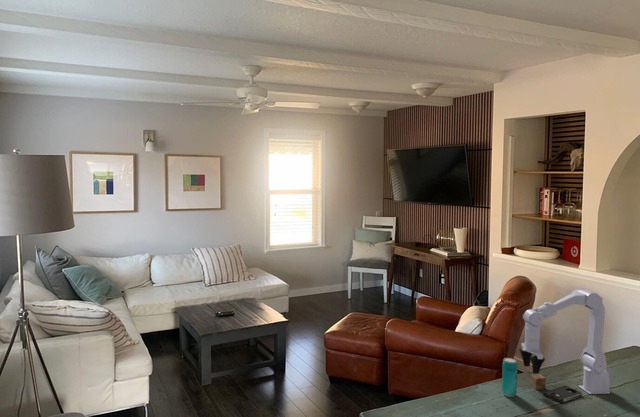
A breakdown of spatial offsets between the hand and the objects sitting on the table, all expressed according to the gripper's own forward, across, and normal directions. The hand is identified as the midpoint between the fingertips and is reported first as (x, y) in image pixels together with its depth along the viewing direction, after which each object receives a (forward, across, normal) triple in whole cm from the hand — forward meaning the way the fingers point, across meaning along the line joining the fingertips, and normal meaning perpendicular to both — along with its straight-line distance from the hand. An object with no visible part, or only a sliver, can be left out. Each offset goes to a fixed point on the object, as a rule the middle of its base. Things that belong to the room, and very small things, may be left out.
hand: (531, 369), depth 211 cm
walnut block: (+10, -5, +6) cm, 13 cm away
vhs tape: (+11, +4, +12) cm, 17 cm away
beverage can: (+10, +1, -10) cm, 14 cm away
